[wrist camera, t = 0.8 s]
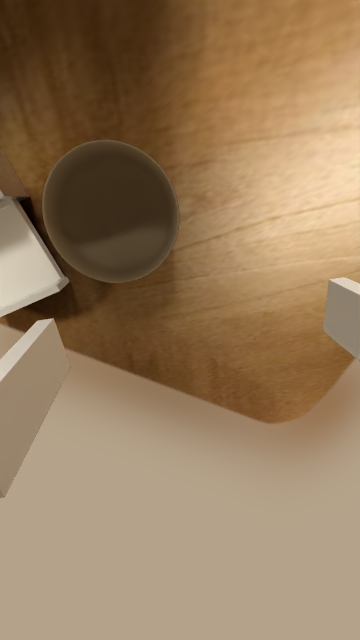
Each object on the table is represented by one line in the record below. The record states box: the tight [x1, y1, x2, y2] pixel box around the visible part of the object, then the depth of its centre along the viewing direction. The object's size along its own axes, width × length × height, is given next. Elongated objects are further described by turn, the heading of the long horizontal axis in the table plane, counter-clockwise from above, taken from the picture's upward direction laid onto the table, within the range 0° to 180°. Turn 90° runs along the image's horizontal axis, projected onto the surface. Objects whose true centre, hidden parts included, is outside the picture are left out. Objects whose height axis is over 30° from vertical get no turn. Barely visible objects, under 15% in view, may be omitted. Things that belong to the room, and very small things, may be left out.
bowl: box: [42, 140, 179, 283], centre depth 30 cm, size 13×13×10 cm
